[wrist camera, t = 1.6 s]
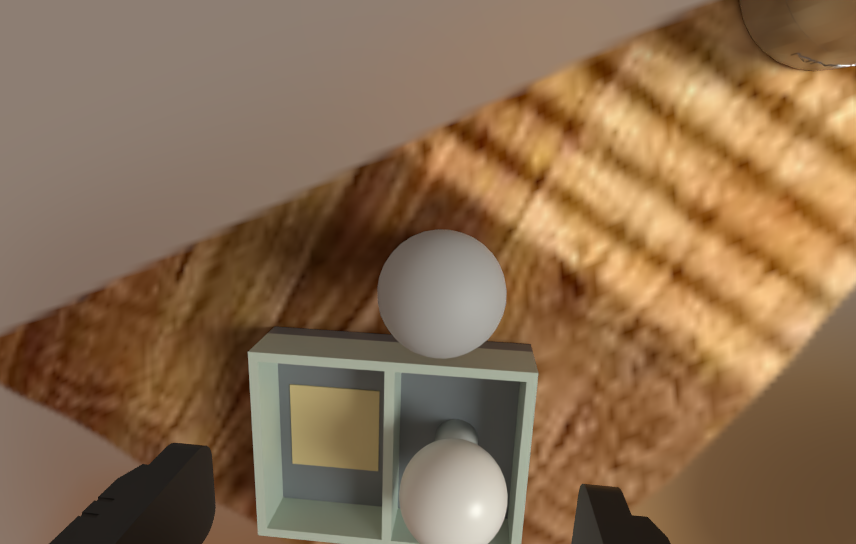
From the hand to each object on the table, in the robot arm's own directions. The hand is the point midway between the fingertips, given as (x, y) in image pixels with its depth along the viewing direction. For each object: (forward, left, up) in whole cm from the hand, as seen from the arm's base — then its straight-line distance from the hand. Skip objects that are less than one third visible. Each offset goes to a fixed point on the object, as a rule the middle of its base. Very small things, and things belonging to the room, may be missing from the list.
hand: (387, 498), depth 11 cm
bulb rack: (+12, -3, -22) cm, 25 cm away
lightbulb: (0, 0, -22) cm, 22 cm away
